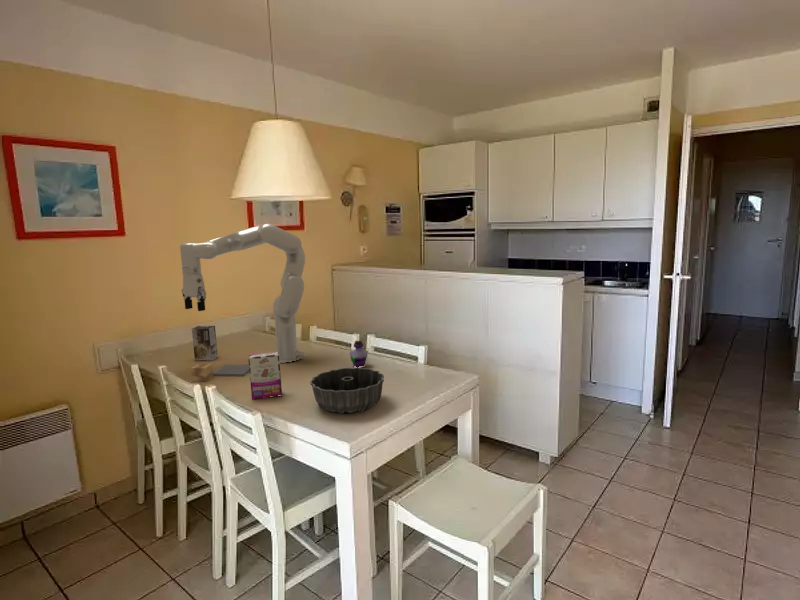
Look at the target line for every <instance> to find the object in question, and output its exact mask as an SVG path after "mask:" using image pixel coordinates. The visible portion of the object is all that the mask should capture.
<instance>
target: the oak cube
mask: <svg viewBox="0 0 800 600" xmlns="http://www.w3.org/2000/svg"><path fill="white" fill-rule="evenodd" d="M190 370H191V378H192V382H199V383H200V382H201V383H207V382H208V381H210V380H211V379H212V377H213V378H214V376H213V373H214V371H213V363H197V364H196V365H194V366H192V367H191V369H190Z"/></svg>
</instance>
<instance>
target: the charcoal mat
mask: <svg viewBox="0 0 800 600" xmlns="http://www.w3.org/2000/svg"><path fill="white" fill-rule="evenodd" d="M249 371H250V370H249V364H225V365H224V366H222V367H220V368H219V369H217V370H216V371H213V377H245V376H246V375H247V374H249V373H250V372H249ZM246 373H247V374H246ZM245 374H246V375H245ZM244 375H245V376H244Z"/></svg>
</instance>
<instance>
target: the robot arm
mask: <svg viewBox="0 0 800 600" xmlns="http://www.w3.org/2000/svg"><path fill="white" fill-rule="evenodd" d="M264 244H269V245H270V246H273V247H276V248H277V249H279V250H282V251H283V252H285V256H286V262H285V266H284V270H283V274H282V277H281V279H280V286H281V292H280V295H278V296H277V297H275V298H274V301H273V306H272V309H273V315H274V326H275V341H276V343H275V344H276V352H279V361H280V364H287V363H286V362H290V363H293V362H292V361H295V362H297V361H296V360H298V361H300V360H301V359H302V358H301V357H306V356H307V355H306V352H305V351H300V349H299V348H298V345H297V326H296V325H297V323H296V314H297V313H298V310H299V308H300V306H301V305H300V304H301V301H302V297H303V295H304V294H303V293H304V289H305V282H304V280H303V278H302V277H303V272H304V268H305V264H306V254H305V251H304V248H303V245H302V241H301V239H300V237H298V235H295V234H294V233H291V232H289V231H287V230H285V229H282V228H280V227H279V226H277V225H274V224H272V223H262V224H258V225H255V226H252V227H249V228H245V229H242V230H238V231H234V232H232V233H230V234H227V235H224V236H220V237H217V238H213V239H211V240H206V241H204V242H183V243H181V244H180V245H179V248H180V250H179V252H180V261H181V270H182V272H181V273H182V289H181V293H182V297H183V300H184V309H185V310H189V309H190V310H191V309H193V308H194V307H193V299H192V298H196V300H197V302H196V304H197V311H198V312H204V311H206V303H205V302H206V298H207V291H206V288H205V287H206V286H205V282H204V277H203V274H202V265H201V260H202V259H204V260H212V259H215V258H216V257H218V256H220V255H224V254H227V253H231V252H237V251H243V250H247V249H251V248H253V247H257V246H261V245H264ZM300 358H301V359H300ZM299 359H300V360H299Z"/></svg>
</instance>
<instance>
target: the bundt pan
mask: <svg viewBox="0 0 800 600" xmlns="http://www.w3.org/2000/svg"><path fill="white" fill-rule="evenodd" d="M384 378H385V375H384V374H383V373H381V372H380V371H379V370H375V369H372V368H367V367H364V368H358V367H357V368H354V367H341V368H337V369H330V370H328V371H323V372H320V373H318V374H316V376H315V375H314V376H312V377H311V380H310V382H309V384H310V385H311V386H312V387H311V388H312V392H313V395H314V400H315V401H316V403H317V405H318V406H319V407H320V408H321V409H322V410H325V409H327V410H326V411H329V412H330V411H331V412H330V413H336V411H337V412H338V413H339V414H343V413H345V412H347V413H350V414H351V413H352V412H353V413H356V412H357V411H358V410H360V411H359V412H363V411H364V410H365V409H371V408H372V407H373V406H375V404H377V403H378V402H379V401H380V399H381V398H382V391H383V384H384V380H385V379H384Z"/></svg>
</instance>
